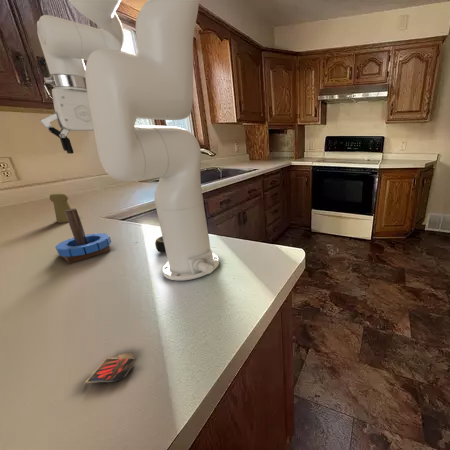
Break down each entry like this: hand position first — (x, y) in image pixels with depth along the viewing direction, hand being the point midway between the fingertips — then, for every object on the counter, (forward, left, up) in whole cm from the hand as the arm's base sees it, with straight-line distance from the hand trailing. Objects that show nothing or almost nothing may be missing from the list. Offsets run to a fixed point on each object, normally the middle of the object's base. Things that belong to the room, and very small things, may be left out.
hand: (92, 152), depth 71 cm
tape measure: (-26, -5, -26) cm, 37 cm away
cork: (+38, +4, -26) cm, 46 cm away
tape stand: (-7, +10, -26) cm, 29 cm away
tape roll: (-7, +10, -25) cm, 27 cm away
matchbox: (-57, +20, -26) cm, 66 cm away
